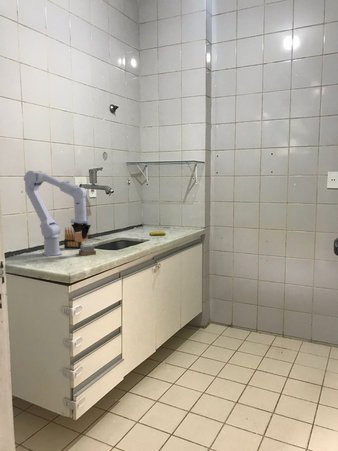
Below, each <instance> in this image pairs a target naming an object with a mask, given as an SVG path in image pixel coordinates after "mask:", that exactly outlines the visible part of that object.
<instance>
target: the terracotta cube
mask: <svg viewBox="0 0 338 451" xmlns="http://www.w3.org/2000/svg"><path fill="white" fill-rule="evenodd" d="M88 237H89V236H88V235H87V238H85V239H83V238H82V232H75V241H77V242H82V243H84V242H88Z"/></svg>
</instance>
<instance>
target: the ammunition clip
mask: <svg viewBox="0 0 338 451" xmlns="http://www.w3.org/2000/svg"><path fill="white" fill-rule="evenodd" d="M63 242H64V243H63V244H64V246H63V247H64V249H75V250H80V246H81V245H83V242H77V241H75V231H74V229H73V227H65V228H64V241H63Z"/></svg>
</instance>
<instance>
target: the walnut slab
mask: <svg viewBox="0 0 338 451" xmlns="http://www.w3.org/2000/svg"><path fill="white" fill-rule="evenodd" d="M78 254H79V255H80V256H82V257H87V256H94V255H97V251H96V250H95V249H94V251H89V252H83V251H81V250H80V249H78Z"/></svg>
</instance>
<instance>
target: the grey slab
mask: <svg viewBox="0 0 338 451" xmlns="http://www.w3.org/2000/svg"><path fill="white" fill-rule="evenodd" d="M79 250H81V251H83V252H89V251H94V250H95V245H92V244H82V245H81V246H80V249H79Z"/></svg>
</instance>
